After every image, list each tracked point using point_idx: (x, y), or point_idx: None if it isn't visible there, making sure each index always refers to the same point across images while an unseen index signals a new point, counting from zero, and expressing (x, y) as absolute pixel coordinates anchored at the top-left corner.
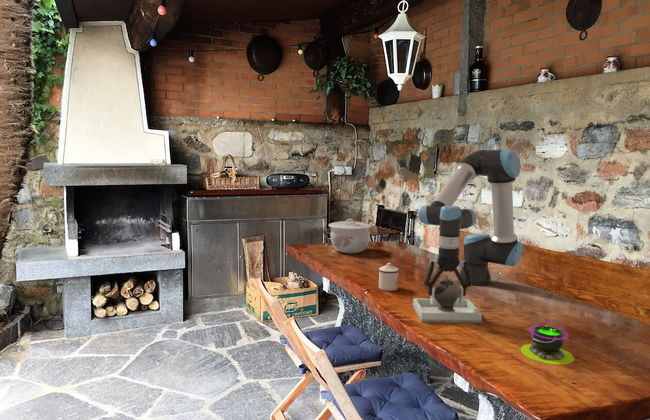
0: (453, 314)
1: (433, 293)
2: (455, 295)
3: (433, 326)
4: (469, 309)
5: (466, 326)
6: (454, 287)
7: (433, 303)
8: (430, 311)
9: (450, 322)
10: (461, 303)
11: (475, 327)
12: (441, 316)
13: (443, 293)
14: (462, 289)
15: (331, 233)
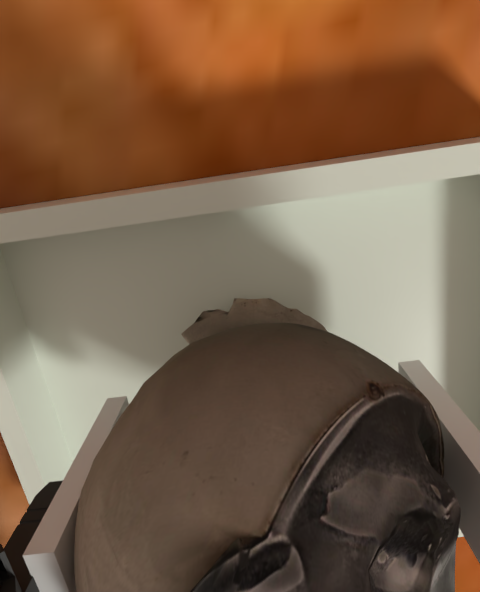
0: (216, 181)
1: (468, 440)
2: (166, 373)
3: (418, 27)
4: (67, 449)
5: (108, 95)
6: (164, 492)
7: (407, 368)
8: (391, 356)
9: (243, 172)
10: (113, 407)
11: (28, 84)
12: (338, 160)
13: (359, 372)
14: (42, 540)
15: None
